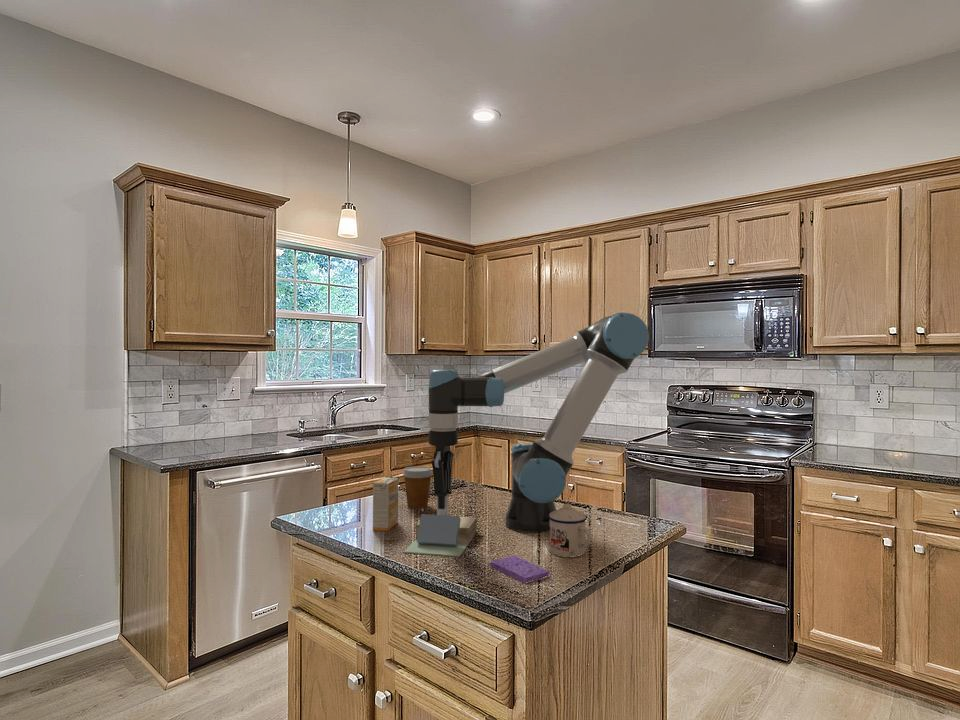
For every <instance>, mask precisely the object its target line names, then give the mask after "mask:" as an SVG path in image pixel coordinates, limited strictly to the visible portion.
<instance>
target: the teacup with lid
mask: <svg viewBox="0 0 960 720" xmlns="http://www.w3.org/2000/svg"><path fill="white" fill-rule="evenodd" d="M549 519H550V531H549V552H550V553H551V554H552V553H553V554H552V555H554V554H555V555H554V556H556V555H559V556H558V557H560V556H566V557H565V558H568V557H570V556H578V555H581V554H583V553H584V552H585V553H586V549H587V548H589V546H591V543H592V539H593V538H592V537H593V536H592V532H591V531H590V529H589V528H588V527H586V521H587V515H586V514H585V513H584V512H582V511H579V510H577V509H575V508H573V507H572V504H571V503H564V504H563V506H562V507H560V508H559V509H556V511H553V512H551V513H550V514H549ZM585 553H584V554H585ZM584 554H583V555H584Z"/></svg>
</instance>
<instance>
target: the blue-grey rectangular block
mask: <svg viewBox="0 0 960 720" xmlns="http://www.w3.org/2000/svg"><path fill="white" fill-rule="evenodd" d="M460 517H461V516H460V515H459V516H457V515H448V516H444V515H437V514H425V513H424V514H423V513H421V514H420V519H419V522H420V524H419V530H418V536H417V543H418V544H427V545H441V546H455V547H457V543H458V535H459V528H460V520H461V519H460Z"/></svg>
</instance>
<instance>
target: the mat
mask: <svg viewBox="0 0 960 720" xmlns="http://www.w3.org/2000/svg"><path fill="white" fill-rule="evenodd" d="M469 544H470V543H462V542H458V543H457V547H455V546H441V545H427V544H418V543H417V539H416V538H415V540H414V541H412V542H411V544H410V545H408V547H406V549H405V550H404V551H403V554H416V555H426V556H427V555H429V556H443V557H456V558H457V557H458V558H459V557H461V556H462V554H463V553H464V552H465V550H466V549H467V547H468V546H469Z"/></svg>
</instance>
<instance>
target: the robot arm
mask: <svg viewBox="0 0 960 720" xmlns="http://www.w3.org/2000/svg"><path fill="white" fill-rule="evenodd" d="M649 333H650V332H649V329H648V327H647V325H646V323H645V322H644V320H643V319H642V318H640V316H637V315H635V314H633V313H631V312H617V313H614V314H612V315H610V316H609V315H608V316H606V317H602V318H600V319H599V320H598V321H596V322H594V323H593V324H591V325H588V326H587V327H585V328H583V329H581V330H579V331H576V332H575V333H574V334H573V337H571V338H567V339H565V340H563V341H560V342H558V343H555V344H553V345H550V346H548V347H545V348H543V349H540V350H538V351H536V352H532V353H531V354H528V355H526V356H523V357H521V358H518V359H516V360H513V361H511V362H508V363H506V364H504V365H501V366H499V367H496V368H493V369H491V370H489V371H486V372H483V373H480V374H477V375H474V376H472V377H464V376H463V377H461V376H459V372H458V370H457V369H433V370H431V371H430V372H429V374H428V375H429V377H428V378H429V381H428V415H427V416H426V419H427V420H428V428H429V431H428V444H429V445H430V446H434V447H435V449H434V450H435V451H434V452H433V459H431V465H432V466H431V467H432V472H433V473H432V476H433V480H432V481H433V490H434V491H433V497H434V496H435V497H436V515H444V516H449V501H450V500H449V495H452V493H453V491H451V489H452V477H453V475H452V474H453V461H454V455H455V454H454V452H453V451H452V449H451V447H453V446H456V445H457V444H458V437H459V436H458V434H459V432H458V430H457V428H459V410H458V409H459V407H489V408H493V407H502V406H503V405H504V402H505V394H507V393H509V392H512V391H514V390H516V389H519V388H522V387H525V386H526V385H529V384H532V383H534V382H537V381H539V380H542V379H544V378H547V377H549V376H552V375H554V374H557V373H559V372H562V371H564V370H567V369H570V368H571V367H574V366H577V365H579V364H582V363H585V364H584V366H583V368H582V370H581V372H580V373H579V375H578V376H577V378H576V380H575V382H574V384H573V385H572V387H571V388H570V391H569V392H568V394H567V395H566V397H565V399H564V401H563V402H562V404H561V405H560V408H559V409H558V411H557V413H556V415H555V416H554V418H553V420H552V421H551V423H550V425H549V427H548V428H547V431H546V432H545V434H544V436H543V437H541V438H538V439H537V438H536V439H535V440H534V441H533V442H532V443H516V444H514V445H513V446H512V447H511V453H510V455H511V498H510V501H509V505H508V508H507V510H506V515H505V525H506V526H505V527H506V528H509V529H512V530H514V531H519V532H524V533H525V532H526V533H546V532H550V519H549V514H550V513H551V512H553V511H556V510H557V506H556V504H555V501H556V500H557V499H558V498H559V497H560V496H561V495H562V494H563V493H564V491H565V488H566V485H567V484H566V483H567V476H568V474H569V472H570V471H571V469H572V468H573V466H574V459H573V453H574V451H575V450H576V448H577V447H578V446H579V443H580V441H581V439H582V438H583V436H584V434H585V432H586V431H587V429H588V427H589V426H590V425H591V423H592V421H593V419H594V417H595V415H596V414H597V412H598V410H599V408H600V406H602V403H603V402H604V400H605V398H606V396H607V395H608V393H609V391H610V389H611V388H612V386H613V384H614V382H615V381H616V379H617V378H618V376H619V375H622V374H625V373H628V370H629V369H630V367H631V365H632V363H633V361H634V360H635V358H637V357H639V356H640V355H641V354H643V353H644V352H645V350H646V349H647V347H648V344H649V341H650V340H649V339H650V334H649Z"/></svg>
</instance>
